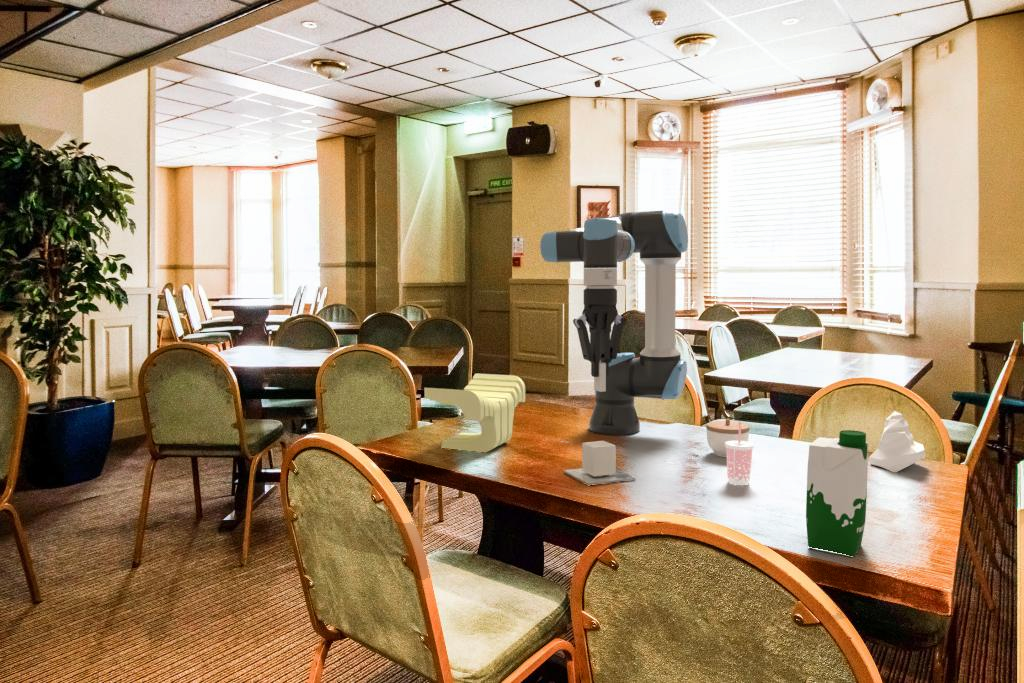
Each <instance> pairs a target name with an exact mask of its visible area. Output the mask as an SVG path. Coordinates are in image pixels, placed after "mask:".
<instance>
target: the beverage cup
mask: <svg viewBox="0 0 1024 683" xmlns="http://www.w3.org/2000/svg"><path fill="white" fill-rule="evenodd" d="M738 423H739V434H738V441H727V442H725V447H726V453H727V457H726V472H727V473H726V477H727V483H728V482H729V483H732V484H736V485H746V484H749V485H750V479H751V478H750V477H751V468H752V459H753V458H752V457H753V450H754V448H755V444H754V443H753V442H751V441H748V442H746V441H741V423H742V421H740V420H739V421H738ZM729 483H728V484H729Z"/></svg>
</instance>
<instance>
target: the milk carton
mask: <svg viewBox="0 0 1024 683" xmlns="http://www.w3.org/2000/svg"><path fill="white" fill-rule="evenodd" d="M868 449H869V443H868V442H867V433H866V432H864V431H859V430H848V429H847V430H845V429H843V430H840V431H839V436H838V438H837V437H834V438H829V437H822V436H819V437H817V438H816V439H815V440H814V441H812V442H811V443H810V444H809V448H808V460H807V470H806V471H807V474H806V500H805V501H806V504H805V519H806V521H805V522H806V536H807V547H808V546H809V547H812V548H818V549H823V550H828V551H833V552H837V553H842V554H846V555H849V556H855V557H856V555H855V554H857V553H858V551H859V549H860V548H861V545H862V541H863V536H864V531H865V526H866V520H867V519H866V518H867V517H866V515H867V496H868V495H867V493H868V492H867V491H868V465H869V464H868V463H869V456H868V454H869V452H868V451H869V450H868ZM859 547H860V548H859ZM856 552H857V553H856Z"/></svg>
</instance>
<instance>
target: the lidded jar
mask: <svg viewBox="0 0 1024 683" xmlns="http://www.w3.org/2000/svg"><path fill="white" fill-rule="evenodd" d="M705 426H706V427H705V428H706V439H707V443H708V446H709V448H710V449H711V450H712V451H713V453H714V455H715V456H718V457H721V458H727V453H726V447H725V442H727V441H738V434H739V421H738V422H737V421H731V419H730V418H726V419H725V421H724V420H723V421H711V422H710V421H709V422H708V423H706V425H705ZM749 436H750V425H748V424H746V423H742V422H741V441H746V442H749Z"/></svg>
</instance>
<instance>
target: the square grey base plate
mask: <svg viewBox="0 0 1024 683" xmlns="http://www.w3.org/2000/svg"><path fill="white" fill-rule="evenodd" d="M565 473H566V474H565ZM563 474H565V475H567V474H568V475H567V476H569V475H570V476H572V477H574V478H576V479H578V480H580V481H582V482H584V483H586V484H588V485H592V484H602V483H610V482H618V481H625V482H629V481H628V480H633V481H636V477H635V476H633V475H630V474H628V473H626V472H625V471H622V470H619V469H617V468H616V474H611V475H603V476H595V477H594V476H592V475H590V474H588V473H586V472H584V471H582V467H581V468H570V469H563ZM570 476H569V477H570ZM572 477H571V478H572ZM574 478H573V479H574ZM576 479H575V480H576ZM578 480H577V481H578ZM580 481H579V482H580ZM582 482H581V483H582ZM618 483H619V482H618ZM610 484H611V483H610ZM602 485H603V484H602Z"/></svg>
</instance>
